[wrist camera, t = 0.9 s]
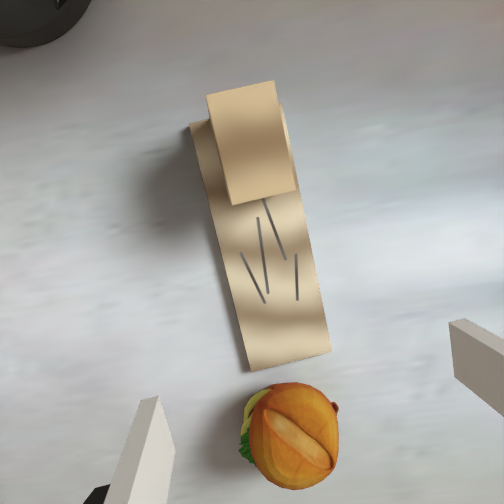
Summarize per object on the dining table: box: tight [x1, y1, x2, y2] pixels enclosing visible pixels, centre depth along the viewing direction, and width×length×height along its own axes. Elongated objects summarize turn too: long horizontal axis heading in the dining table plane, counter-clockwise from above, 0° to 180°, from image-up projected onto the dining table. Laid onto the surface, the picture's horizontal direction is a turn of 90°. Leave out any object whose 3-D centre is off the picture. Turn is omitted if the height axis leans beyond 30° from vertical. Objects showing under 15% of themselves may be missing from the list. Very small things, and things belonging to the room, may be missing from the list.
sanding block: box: [206, 80, 296, 205], centre depth 30 cm, size 8×5×8 cm, turn 13°
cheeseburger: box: [238, 382, 339, 490], centre depth 36 cm, size 10×11×10 cm
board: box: [189, 103, 332, 372], centre depth 36 cm, size 26×9×1 cm, turn 13°
